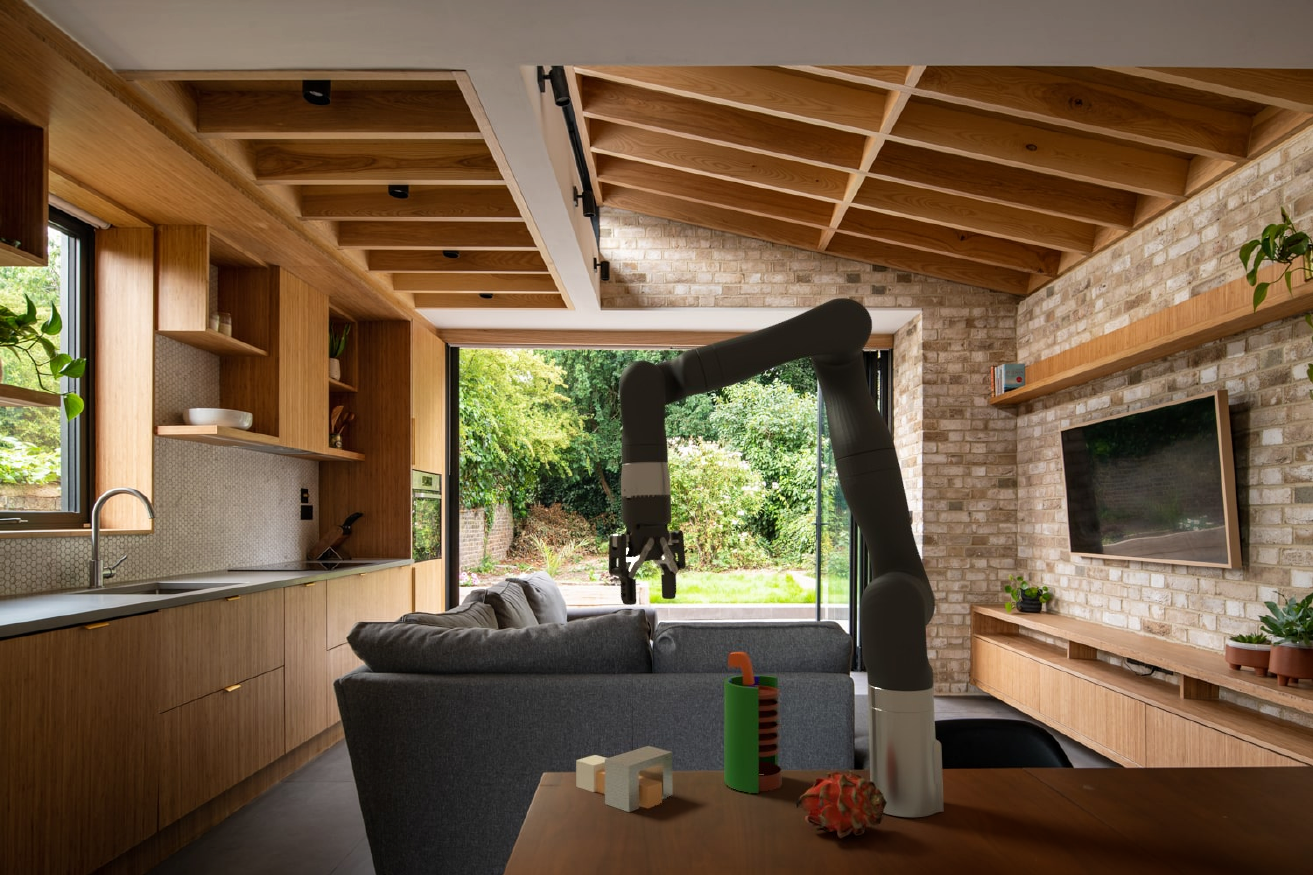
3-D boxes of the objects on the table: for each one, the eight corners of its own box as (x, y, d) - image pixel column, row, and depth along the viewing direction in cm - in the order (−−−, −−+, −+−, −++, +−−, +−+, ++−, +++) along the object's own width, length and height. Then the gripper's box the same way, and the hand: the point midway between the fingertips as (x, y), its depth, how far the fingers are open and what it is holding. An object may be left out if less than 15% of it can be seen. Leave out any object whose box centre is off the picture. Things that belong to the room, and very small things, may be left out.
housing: (672, 795, 128) (672, 751, 128) (629, 812, 121) (628, 765, 122) (648, 788, 131) (648, 745, 132) (604, 803, 125) (604, 758, 125)
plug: (664, 802, 125) (664, 774, 126) (645, 809, 122) (645, 780, 123) (595, 780, 136) (595, 754, 136) (576, 786, 133) (576, 760, 133)
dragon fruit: (896, 850, 111) (803, 858, 113) (884, 793, 118) (798, 801, 120) (889, 809, 107) (794, 818, 109) (878, 753, 114) (789, 762, 116)
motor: (779, 795, 128) (777, 659, 129) (720, 792, 129) (718, 658, 131) (783, 774, 138) (781, 648, 139) (728, 771, 139) (726, 647, 141)
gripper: (659, 494, 137) (663, 596, 136) (594, 494, 127) (597, 605, 125) (695, 492, 132) (699, 598, 131) (630, 492, 122) (633, 607, 120)
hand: (649, 601), depth 128 cm, fingers open, 8 cm apart
